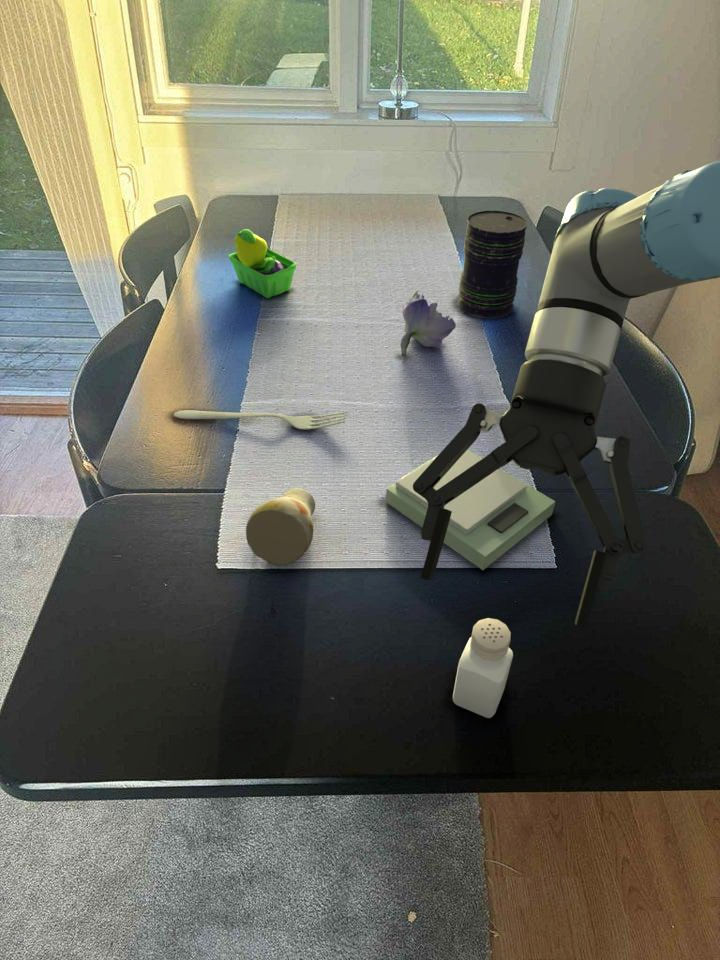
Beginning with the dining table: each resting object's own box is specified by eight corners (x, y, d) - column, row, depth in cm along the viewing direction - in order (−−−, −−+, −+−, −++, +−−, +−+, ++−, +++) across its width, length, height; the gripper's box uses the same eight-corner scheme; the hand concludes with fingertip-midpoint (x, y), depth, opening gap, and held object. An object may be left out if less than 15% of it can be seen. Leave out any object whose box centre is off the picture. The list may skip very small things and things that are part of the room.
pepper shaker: (449, 705, 64) (461, 641, 58) (464, 671, 67) (476, 607, 60) (491, 723, 62) (507, 660, 56) (505, 687, 65) (521, 624, 59)
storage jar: (486, 324, 119) (499, 237, 109) (445, 303, 124) (454, 219, 115) (524, 307, 123) (540, 223, 114) (484, 288, 129) (495, 206, 119)
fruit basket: (300, 290, 127) (297, 229, 120) (260, 305, 123) (255, 242, 115) (263, 270, 134) (258, 210, 126) (224, 283, 129) (216, 222, 122)
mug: (331, 509, 84) (335, 482, 74) (297, 583, 80) (297, 565, 71) (274, 485, 84) (271, 455, 75) (238, 558, 81) (230, 536, 71)
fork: (177, 408, 99) (175, 397, 97) (348, 419, 97) (348, 409, 96) (170, 421, 96) (168, 410, 95) (345, 433, 95) (345, 423, 94)
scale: (552, 515, 83) (557, 496, 81) (482, 570, 76) (486, 551, 74) (455, 456, 91) (458, 438, 89) (385, 502, 84) (386, 483, 82)
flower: (423, 332, 103) (441, 279, 106) (376, 339, 108) (395, 288, 112) (451, 369, 109) (467, 318, 113) (406, 373, 114) (422, 324, 118)
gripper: (704, 410, 62) (643, 641, 61) (436, 353, 69) (377, 561, 68) (725, 391, 55) (656, 652, 54) (423, 329, 62) (357, 561, 61)
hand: (500, 602), depth 61 cm, fingers open, 13 cm apart
